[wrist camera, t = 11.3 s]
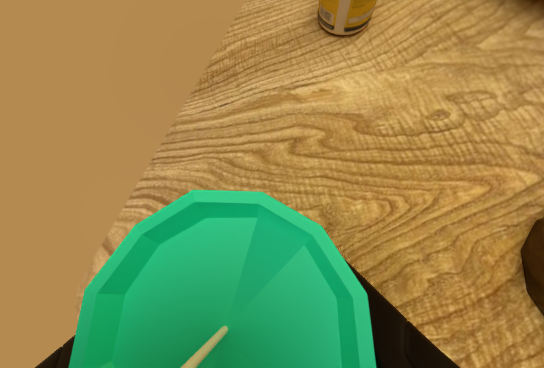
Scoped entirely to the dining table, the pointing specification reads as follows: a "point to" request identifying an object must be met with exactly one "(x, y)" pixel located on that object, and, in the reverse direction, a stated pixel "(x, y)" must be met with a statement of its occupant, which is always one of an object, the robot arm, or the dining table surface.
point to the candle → (225, 292)
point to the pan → (535, 263)
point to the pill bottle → (345, 15)
